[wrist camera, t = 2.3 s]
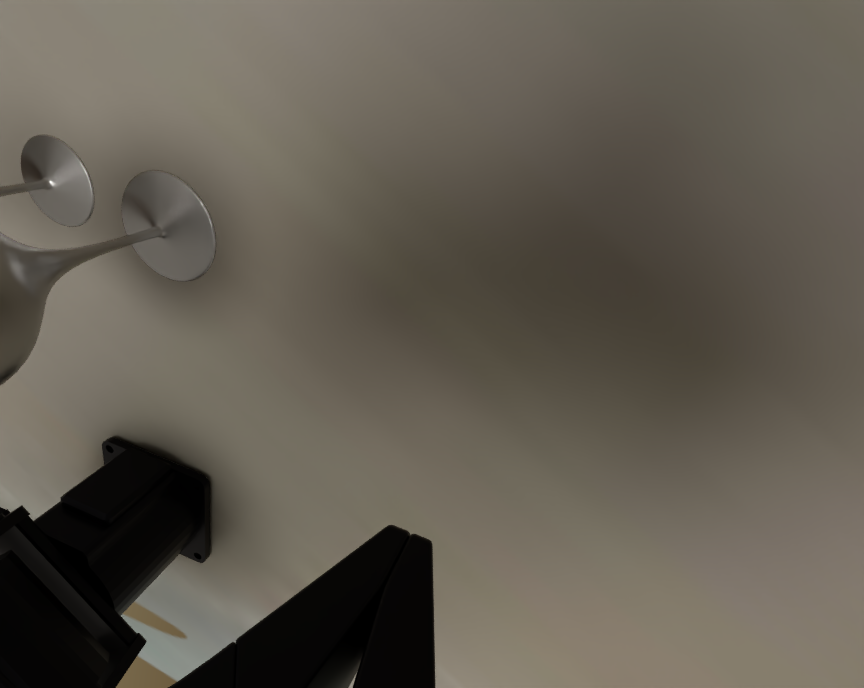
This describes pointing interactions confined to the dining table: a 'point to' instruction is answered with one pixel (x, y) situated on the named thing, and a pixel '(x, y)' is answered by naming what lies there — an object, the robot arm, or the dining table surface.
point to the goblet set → (72, 206)
